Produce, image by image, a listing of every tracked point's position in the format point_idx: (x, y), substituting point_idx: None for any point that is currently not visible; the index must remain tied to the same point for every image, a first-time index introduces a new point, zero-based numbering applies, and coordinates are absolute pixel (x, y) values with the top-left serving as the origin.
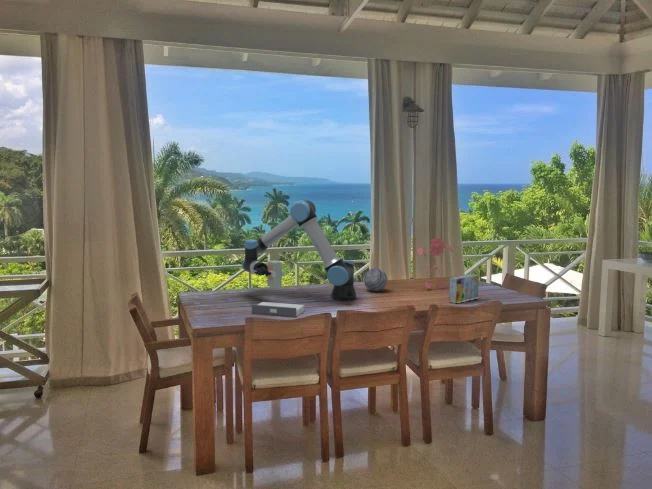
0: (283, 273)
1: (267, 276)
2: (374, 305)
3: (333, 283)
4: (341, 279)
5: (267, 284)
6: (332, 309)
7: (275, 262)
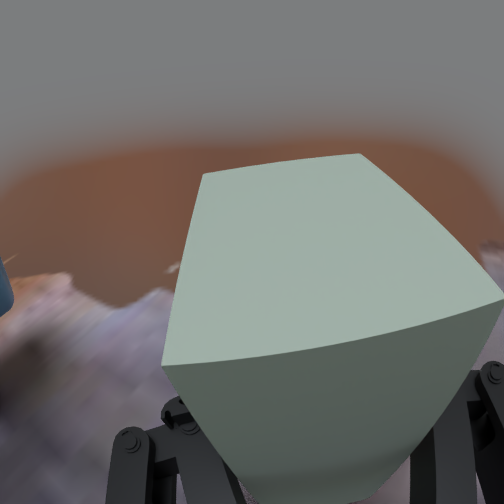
0: None
1: (393, 472)
2: (13, 308)
3: (13, 296)
4: (2, 263)
5: (370, 493)
6: (118, 318)
7: (328, 160)
